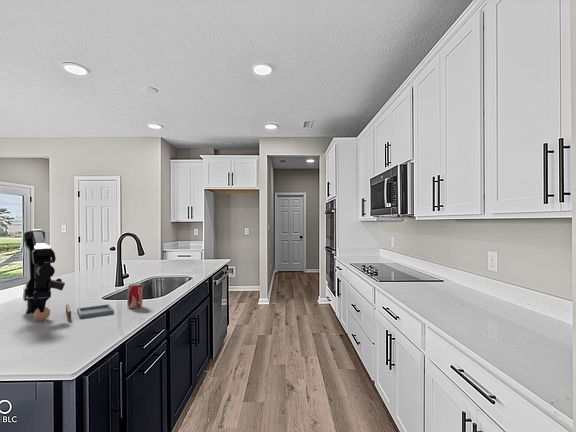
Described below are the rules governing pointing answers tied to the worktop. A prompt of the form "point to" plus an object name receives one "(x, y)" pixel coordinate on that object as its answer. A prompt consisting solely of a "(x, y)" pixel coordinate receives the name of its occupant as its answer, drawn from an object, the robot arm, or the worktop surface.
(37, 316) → the ball
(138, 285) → the soda can
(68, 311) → the fence
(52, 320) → the worktop surface
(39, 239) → the robot arm
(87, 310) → the dish
